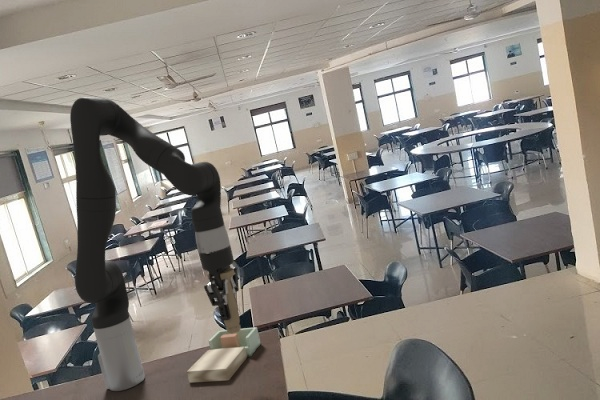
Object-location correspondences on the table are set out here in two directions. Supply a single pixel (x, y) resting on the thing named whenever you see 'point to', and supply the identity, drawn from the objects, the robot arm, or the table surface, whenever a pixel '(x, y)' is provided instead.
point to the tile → (230, 341)
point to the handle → (230, 303)
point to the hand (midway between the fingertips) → (230, 315)
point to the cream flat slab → (217, 365)
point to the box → (246, 339)
